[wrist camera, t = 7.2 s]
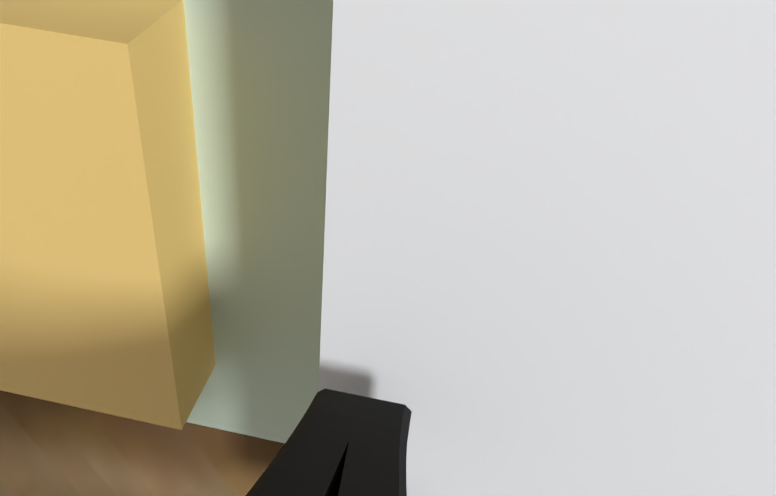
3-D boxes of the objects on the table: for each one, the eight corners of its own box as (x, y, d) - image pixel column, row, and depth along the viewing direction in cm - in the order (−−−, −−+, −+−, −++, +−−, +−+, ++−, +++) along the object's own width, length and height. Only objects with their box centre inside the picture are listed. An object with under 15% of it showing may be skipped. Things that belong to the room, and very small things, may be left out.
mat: (333, 444, 19) (330, 453, 19) (-50, 361, 20) (-57, 369, 20) (370, -149, 11) (365, -145, 10) (-298, -237, 12) (-316, -236, 12)
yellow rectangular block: (-66, 376, 17) (-13, 317, 18) (181, 430, 16) (215, 365, 18) (-239, -17, 11) (-141, -53, 13) (127, 43, 11) (183, -1, 12)
